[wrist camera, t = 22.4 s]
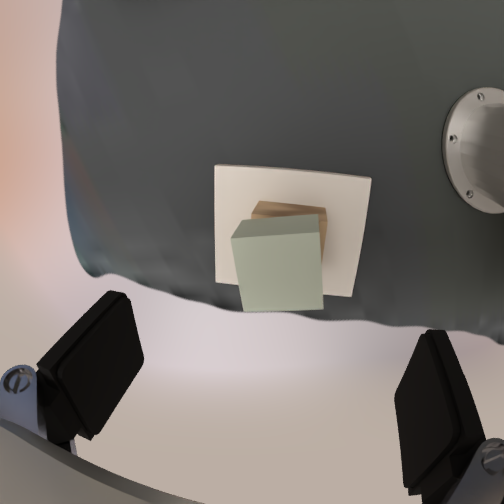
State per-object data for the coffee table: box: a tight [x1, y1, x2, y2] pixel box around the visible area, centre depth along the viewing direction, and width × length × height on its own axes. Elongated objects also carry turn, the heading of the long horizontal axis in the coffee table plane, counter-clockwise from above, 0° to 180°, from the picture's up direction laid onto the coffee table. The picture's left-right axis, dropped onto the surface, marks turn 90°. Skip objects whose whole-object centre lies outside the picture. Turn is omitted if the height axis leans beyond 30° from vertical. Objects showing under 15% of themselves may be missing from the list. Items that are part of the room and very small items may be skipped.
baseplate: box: [215, 164, 371, 297], centre depth 30 cm, size 14×12×1 cm
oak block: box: [251, 201, 328, 265], centre depth 27 cm, size 6×6×4 cm
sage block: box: [230, 214, 323, 312], centre depth 24 cm, size 6×6×4 cm
